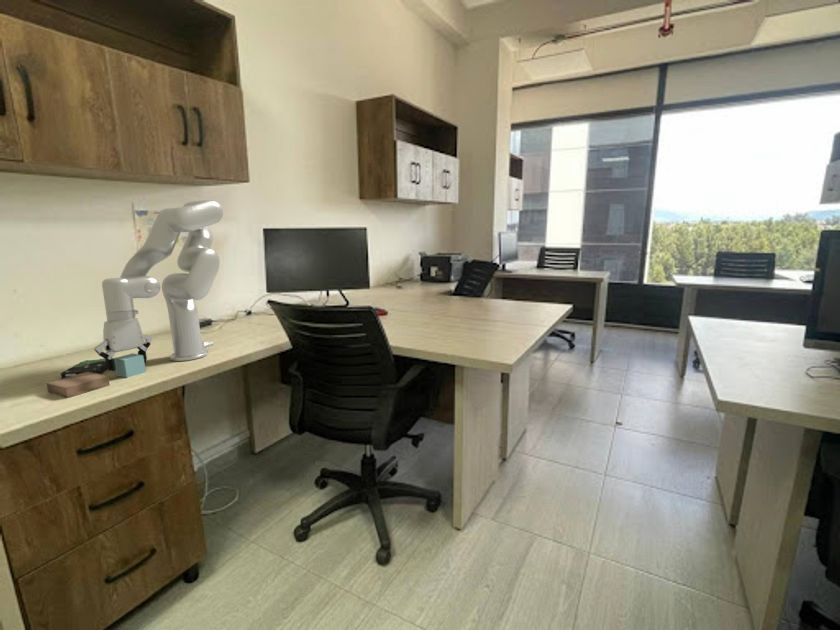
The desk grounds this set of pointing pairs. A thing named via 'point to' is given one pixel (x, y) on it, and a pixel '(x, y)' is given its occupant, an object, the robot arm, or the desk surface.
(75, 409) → the desk surface
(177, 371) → the desk surface
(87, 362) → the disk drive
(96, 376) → the walnut base
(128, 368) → the teal cube
